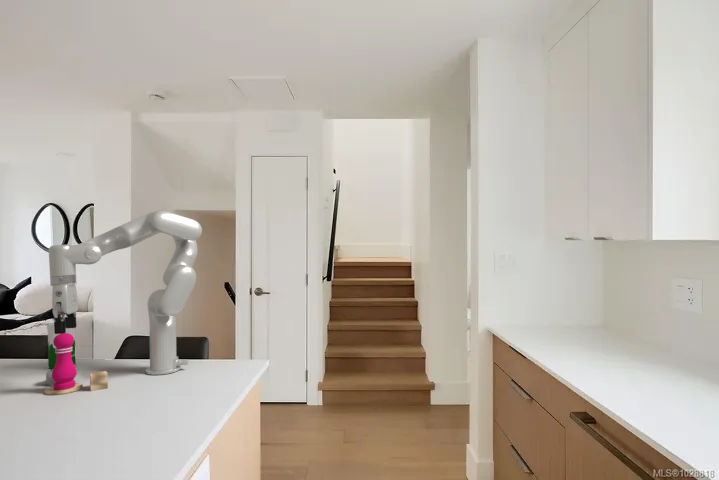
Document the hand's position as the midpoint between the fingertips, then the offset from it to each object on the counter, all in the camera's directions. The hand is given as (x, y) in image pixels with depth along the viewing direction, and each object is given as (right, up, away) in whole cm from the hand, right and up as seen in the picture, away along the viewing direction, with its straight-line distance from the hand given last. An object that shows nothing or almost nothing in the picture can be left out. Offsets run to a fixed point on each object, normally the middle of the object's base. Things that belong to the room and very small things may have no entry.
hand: (65, 330), depth 157 cm
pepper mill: (0, -20, -1) cm, 19 cm away
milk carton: (-21, -21, +31) cm, 43 cm away
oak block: (+11, -20, +1) cm, 23 cm away
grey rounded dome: (-7, -20, +8) cm, 23 cm away
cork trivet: (0, -20, -1) cm, 20 cm away
